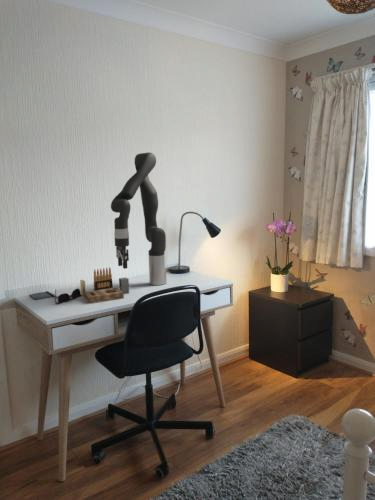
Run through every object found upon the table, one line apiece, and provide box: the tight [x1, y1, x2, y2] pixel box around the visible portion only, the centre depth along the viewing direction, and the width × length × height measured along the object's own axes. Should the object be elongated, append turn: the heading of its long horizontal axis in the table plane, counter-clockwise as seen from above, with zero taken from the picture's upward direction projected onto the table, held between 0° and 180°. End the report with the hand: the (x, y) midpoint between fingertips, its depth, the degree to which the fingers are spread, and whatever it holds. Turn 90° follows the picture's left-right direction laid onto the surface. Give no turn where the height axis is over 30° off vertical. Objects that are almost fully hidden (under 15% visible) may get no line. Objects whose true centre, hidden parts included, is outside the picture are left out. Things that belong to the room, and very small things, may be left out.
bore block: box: [83, 287, 125, 304], centre depth 210 cm, size 18×12×3 cm, turn 117°
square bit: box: [118, 277, 130, 295], centre depth 219 cm, size 4×4×8 cm
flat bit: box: [79, 279, 87, 297], centre depth 216 cm, size 2×4×8 cm, turn 27°
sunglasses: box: [45, 288, 82, 305], centre depth 211 cm, size 17×14×5 cm
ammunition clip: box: [93, 267, 114, 291], centre depth 229 cm, size 11×2×12 cm, turn 122°
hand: (122, 267), depth 217 cm, fingers open, 8 cm apart
